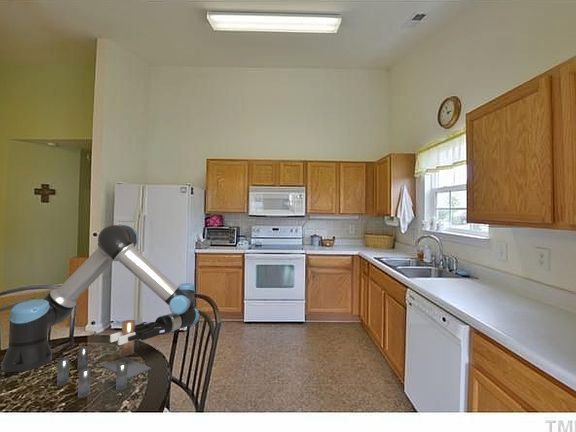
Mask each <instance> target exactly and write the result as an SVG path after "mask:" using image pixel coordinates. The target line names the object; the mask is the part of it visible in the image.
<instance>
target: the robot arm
mask: <svg viewBox="0 0 576 432" xmlns="http://www.w3.org/2000/svg"><path fill="white" fill-rule="evenodd" d="M138 241H139V234H138V232H137V230H136V229H135V228H134V227H132V226H129V225H127V224H119V225H118V224H112V225H108V226H106V227H104V228H103V229H102V230H101V231H100V232H99V234H98V237H97V249H95V251H93V253H91V254H90V256H89V257H87V259H86V260H85V261H84V262H83V263H82V264H81V265H80V266H79V267H78V268H77V269H76V270H75V271H74V272H73V273H72V274H71V275H70V276H69V277H68V278H67V279H66V280H65V281H64V282H63V284H62V285H60V286H59V287H58V288H55V289H54V288H53V289H51V290H50V291H49V292H48V294H47V295H45V297H44V298H43V299H40V298H39V299H30V300H27V301H22V302H19V303H17V304H15V305H14V306H12V308H11V310H10V314H9V331H8V347H7V349H6V351H5V354H4V356H3V358H2V361H1V366H0V370H1V372H3V373H20V372H26V371H30V370H34V369H38V368H41V367H43V366H45V365H48V364H49V363H50V362H52V359H53V352H52V349H51V346H50V344H49V341H48V335H49V333H48V332H49V328H51V327H53V326H55V325H56V324H57V325H58V324H60V323H62V322H64V321H65V320H67V318H68V317H69V316H70V315H71V314H72V312H73V309H74V308H75V307H76V306H77V299H79V298H80V297H81V296H82V294H84V292H85V291H86V290H87V289H88V288H89V287H90V286H91V285H92V284H94V282H95V281H96V280H97V279H98V278H99V277H100V275H102V273H104V271H106V270H107V268H108V267H109V266H110V265H111V264H112V263H113V262H119V263H120V264H122V265H123V266H124V267H125V268H126V269H127V270H128V271H129V272H130V273H132V274H133V275H134V276H135V277H136V278H137V279H139V281H141V282H142V283H143V284H144V285H146V287H147V288H149V289H150V290H151V291H152V292H153V293H154V294H155V295H156V296H158V298H160V300H162V301H163V302H165V304H166V305H168V308H169V311H170V312H171V313H168V314H166V315H165V314H163V315H161V316H159V317H157V318H156V319H155V321H151V322H149V323H147V321H143V322H142V323H138V324H135V332H134V333H131V334H128V335H124V336H122V331H118V332H115V333H112V334H110V335H109V343H113V342H114V343H115V342H117V345H118V346H122V344H125V343H128V342H131V341H134V340H135V341H139V340H140V341H145V340H148V339H151V338H154V337H158V336H160V335H161V336H162V335H163V336H164V335H166V334H169V333H174V332H175V331H177V330H180V329H183V328H186V327H190V326H192V325H195V324H196V323H198V322H199V319H200V313H199V310H198V309H197V307H195V298H196V297H195V293H196V289H195V284H194V283H192V282H191V283H190V282H189V283H188V282H185V283H179V284H178V286H177V285H176V284H175V283H174V282H173V281H172V280H171V279H169V278H168V277H167V275H165V274H164V273H162V271H160V269H158V268H157V266H155V265H154V264H153V263H152V262H150V260H148V259H147V258H146V257H145V256H144V255H142V254H141V253H140V252H139V250H137V249H136V248H135V247H136V246H137V245H138Z"/></svg>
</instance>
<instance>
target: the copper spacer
mask: <svg viewBox="0 0 576 432" xmlns="http://www.w3.org/2000/svg"><path fill="white" fill-rule="evenodd" d="M121 324H122V326H121V332H122V336H124V335H128V334H131V333H134V332H135V325H136V320H135V319H126V320H123V321H122V323H121ZM135 341H136V340H134V341H131V342H128V343H125V344H121V348H120V351H121V353H120V354H121V356H126V357H127V356H131V355H133V354H135Z"/></svg>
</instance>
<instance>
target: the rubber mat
mask: <svg viewBox="0 0 576 432" xmlns="http://www.w3.org/2000/svg"><path fill="white" fill-rule="evenodd" d="M120 362H127V363H128V365H127V380H128V379H131V378H133V377H136V376H137V375H138V376H139V375H140V374H143V373H145V372H147V371H150V370H151V369H152V368H151V367H150V366H147V365H145V364H143V363H140V362H138V361H135V360H133V359H130V358H127V357H122V358H119V359H116V360H113V361H111V362H107V363H105V364H102V365H101V368H104V369H106V370H108V371H110V372H112V373H114V374H116V372H117V364H118V363H120Z"/></svg>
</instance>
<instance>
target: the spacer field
mask: <svg viewBox="0 0 576 432" xmlns="http://www.w3.org/2000/svg"><path fill="white" fill-rule="evenodd" d="M89 348H90V347H89V345H83V346H79V347H78V349H77V350H78V351H77V371H78V382H77V383H78V385H77V398H79V399H84V398H87V397H89V396H90V395H91V377H92V376H91V375H92V369H91V367H89V365H88V364H89ZM127 365H128V363H127V362H120V363H118V364H117V372H116V373H115V374H116V376H115V377H116V378H115V390H116V391H124V390H126V389H127V385H128V383H127V382H128V378H127ZM56 371H57V375H56V386H64V385H67V384H68V383H69V376H70V375H69V374H70V373H69V372H70V357H63V358H62V357H61V358H59V359H57V370H56Z"/></svg>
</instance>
